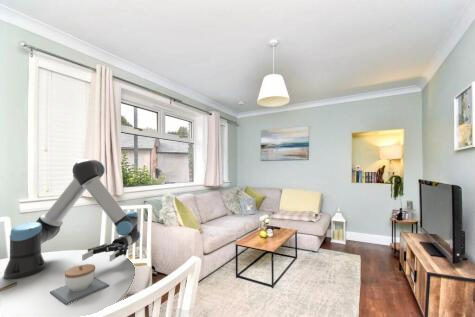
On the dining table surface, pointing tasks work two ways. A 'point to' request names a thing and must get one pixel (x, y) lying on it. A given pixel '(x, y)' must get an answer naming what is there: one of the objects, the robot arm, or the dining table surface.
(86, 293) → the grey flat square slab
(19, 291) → the dining table surface
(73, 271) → the lidded jar
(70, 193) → the robot arm
